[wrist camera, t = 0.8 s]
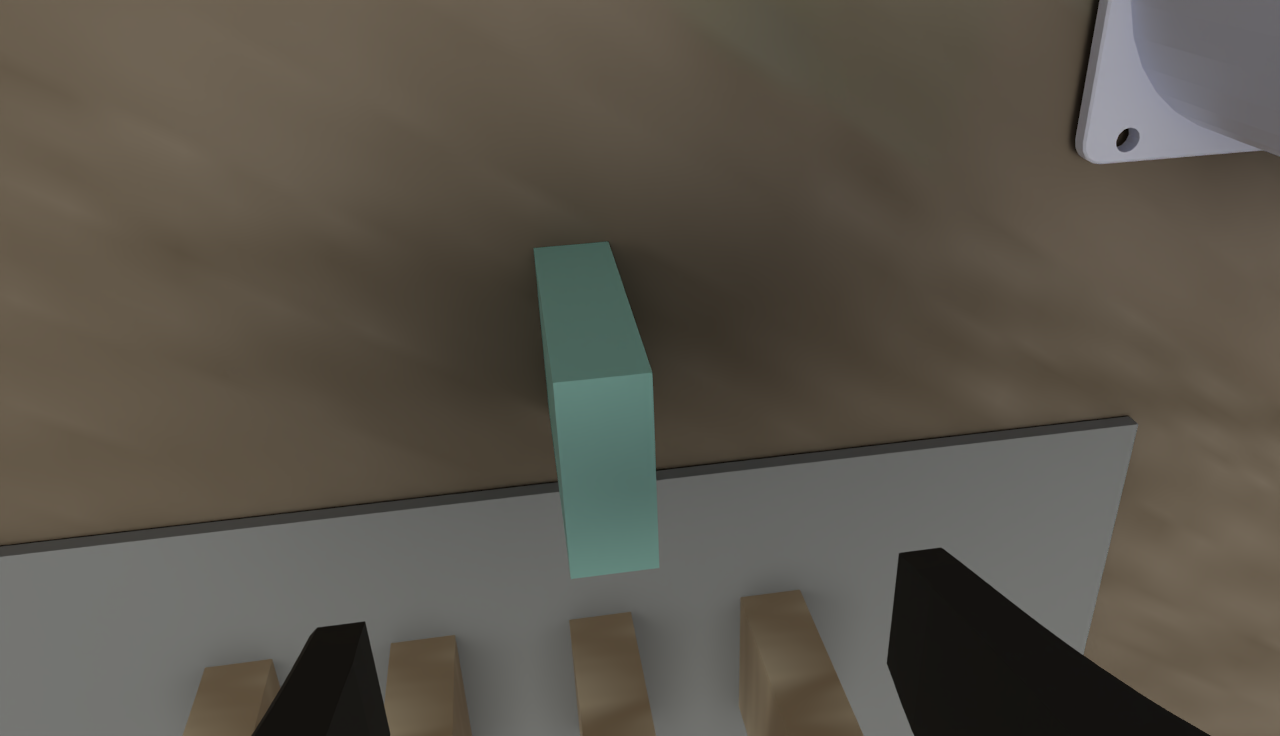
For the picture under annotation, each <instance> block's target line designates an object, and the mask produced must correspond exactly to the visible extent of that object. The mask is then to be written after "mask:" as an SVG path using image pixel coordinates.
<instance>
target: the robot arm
mask: <svg viewBox="0 0 1280 736" xmlns="http://www.w3.org/2000/svg"><path fill="white" fill-rule="evenodd" d="M1127 128H1129V135H1128V137H1127V140H1126V141H1125V142H1124V143H1123V144H1122V145H1121V146H1118V147H1116V140H1117V138H1118V136H1119V134H1120V133H1121V132H1122V131H1123V130H1125V129H1127ZM1075 148H1076V150H1077V152H1078V154H1079V155H1080V156H1081V157H1082V158H1084V159H1085V160H1087V161H1089V162H1091V163H1096V164H1108V163H1119V162H1131V161H1143V160H1155V159H1167V158H1179V157H1191V156H1202V155H1214V154H1226V153H1238V152H1250V151H1262V150H1264V151H1266V152H1269V153H1271V154H1274V155H1277V156H1279V157H1280V0H1099V6H1098V12H1097V18H1096V23H1095V29H1094V35H1093V41H1092V46H1091V52H1090V58H1089V63H1088V69H1087V75H1086V81H1085V86H1084V92H1083V98H1082V104H1081V109H1080V115H1079V121H1078V127H1077V132H1076V138H1075ZM887 665H888V668H889V671H890V674H891V677H892V679H893V682H894V685H895V688H896V690H897V693H898V696H899V699H900V702H901V704H902V707H903V709H904V712H905V714H906V717H907V720H908V722H909V725H910V727H911V730H912V732H913V734H914V736H1210V735H1209V734H1207V733H1205V732H1203V731H1202V730H1200V729H1198V728H1196V727H1195V726H1193V725H1191V724H1190V723H1188V722H1186V721H1184V720H1183V719H1181V718H1179V717H1177V716H1176V715H1174V714H1172V713H1171V712H1169V711H1167V710H1166V709H1164V708H1162V707H1161V706H1159V705H1157V704H1156V703H1154V702H1153V701H1151V700H1149V699H1148V698H1146V697H1145V696H1143V695H1141V694H1140V693H1138V692H1137V691H1135V690H1134V689H1132V688H1131V687H1129V686H1128V685H1126V684H1125V683H1123V682H1122V681H1120V680H1119V679H1117V678H1116V677H1114V676H1113V675H1111V674H1110V673H1108V672H1107V671H1105V670H1104V669H1102V668H1101V667H1099V666H1098V665H1096V664H1095V663H1094V662H1092V661H1091V660H1089V659H1088V658H1086V657H1085V656H1084V655H1082V654H1081V653H1079V652H1078V651H1077V650H1075V649H1074V648H1072V647H1071V646H1070V645H1068V644H1067V643H1065V642H1064V641H1063V640H1061V639H1060V638H1059V637H1057V636H1056V635H1054V634H1053V633H1052V632H1050V631H1049V630H1048V629H1046V628H1045V627H1044V626H1042V625H1041V624H1040V623H1038V622H1037V621H1036V620H1034V619H1033V618H1032V617H1031V616H1029V615H1028V614H1027V613H1025V612H1024V611H1023V610H1021V609H1020V608H1019V607H1017V606H1016V605H1015V604H1014V603H1012V602H1011V601H1010V600H1008V599H1007V598H1006V597H1005V596H1003V595H1002V594H1001V593H999V592H998V591H997V590H996V589H994V588H993V587H992V586H991V585H989V584H988V583H987V582H985V581H984V580H983V579H982V578H980V577H979V576H978V575H977V574H975V573H974V572H973V571H971V570H970V569H969V568H968V567H966V566H965V565H964V564H963V563H961V562H960V561H959V560H957V559H956V558H955V557H953V556H952V555H951V554H950V553H948V552H947V551H946V550H944V549H943V548H933V549H925V550H917V551H909V552H902V553H899V557H898V566H897V575H896V584H895V593H894V602H893V611H892V620H891V629H890V638H889V647H888V656H887ZM251 736H390V729H389V725H388V720H387V716H386V711H385V707H384V703H383V698H382V694H381V689H380V685H379V680H378V676H377V671H376V667H375V662H374V658H373V653H372V649H371V645H370V640H369V636H368V631H367V627H366V622H365V621H364V622H356V623H348V624H340V625H332V626H325V627H317V628H316V629H315V630H314V632H313V633H312V634H311V635H310V636H309V638H308V640H307V642H306V644H305V645H304V647H303V649H302V651H301V653H300V655H299V656H298V658H297V660H296V662H295V664H294V665H293V667H292V669H291V671H290V673H289V674H288V676H287V678H286V680H285V681H284V683H283V685H282V686H281V688H280V690H279V691H278V693H277V695H276V696H275V698H274V700H273V702H272V703H271V705H270V707H269V708H268V710H267V712H266V713H265V715H264V716H263V718H262V720H261V721H260V723H259V724H258V726H257V727H256V729H255V731H254V732H253V734H252V735H251Z"/></svg>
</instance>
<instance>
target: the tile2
mask: <svg viewBox="0 0 1280 736" xmlns="http://www.w3.org/2000/svg"><path fill="white" fill-rule="evenodd" d="M739 709H740V712H741V715H742V718H743V722H744V725H745V728H746V732H747V735H748V736H864V735H863V733H862V731H861V728H860V726H859V724H858V721H857V719H856V717H855V715H854V712H853V710H852V708H851V705H850V703H849V701H848V699H847V696H846V694H845V692H844V689H843V687H842V685H841V683H840V680H839V678H838V676H837V673H836V671H835V669H834V667H833V664H832V662H831V660H830V657H829V655H828V653H827V651H826V648H825V646H824V644H823V641H822V639H821V637H820V635H819V632H818V630H817V628H816V625H815V623H814V621H813V619H812V616H811V614H810V612H809V609H808V607H807V605H806V603H805V600H804V598H803V596H802V593H801V591H800V590H793V591H785V592H778V593H770V594H762V595H755V596H747V597H741V598H740V668H739Z"/></svg>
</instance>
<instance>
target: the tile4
mask: <svg viewBox="0 0 1280 736" xmlns="http://www.w3.org/2000/svg"><path fill="white" fill-rule="evenodd" d="M384 707H385V711H386V716H387V720H388V725H389V729H390V736H472V732H471V726H470V720H469V714H468V708H467V703H466V697H465V691H464V685H463V679H462V673H461V667H460V661H459V655H458V649H457V643H456V637H455V635H450V636H443V637H435V638H427V639H420V640H412V641H404V642H397V643H391V646H390V656H389V665H388V674H387V684H386V693H385V702H384Z"/></svg>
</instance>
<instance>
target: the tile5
mask: <svg viewBox="0 0 1280 736" xmlns="http://www.w3.org/2000/svg"><path fill="white" fill-rule="evenodd" d="M279 690H280V685H279V681H278V678H277V674H276V671H275V668H274V664H273V661H272V659H267V660H260V661H252V662H245V663H237V664H229V665H222V666H214V667H206V668H205V669H204V672H203V675H202V678H201V681H200V684H199V688H198V691H197V694H196V697H195V700H194V703H193V706H192V709H191V712H190V715H189V718H188V721H187V724H186V727H185V730H184V733H183V736H251V735H252V734H253V732H254V731H255V729H256V727H257V726H258V724H259V723H260V721H261V720H262V718H263V716H264V715H265V713H266V712H267V710H268V708H269V707H270V705H271V703H272V702H273V700H274V698H275V696H276V695H277V693H278V691H279Z"/></svg>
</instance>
